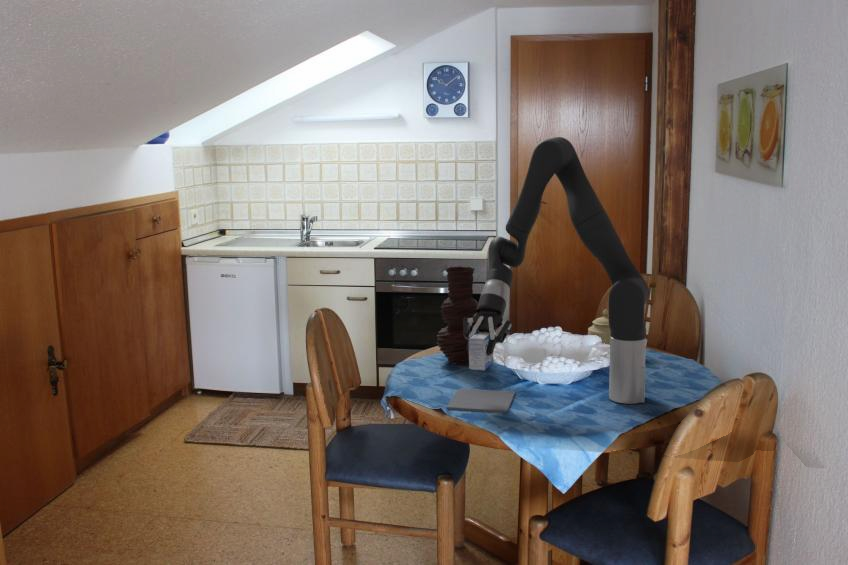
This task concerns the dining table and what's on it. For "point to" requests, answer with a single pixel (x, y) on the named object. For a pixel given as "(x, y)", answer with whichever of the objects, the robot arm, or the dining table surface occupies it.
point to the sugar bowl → (601, 328)
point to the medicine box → (479, 351)
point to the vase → (457, 314)
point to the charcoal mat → (481, 400)
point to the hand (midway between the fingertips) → (478, 353)
